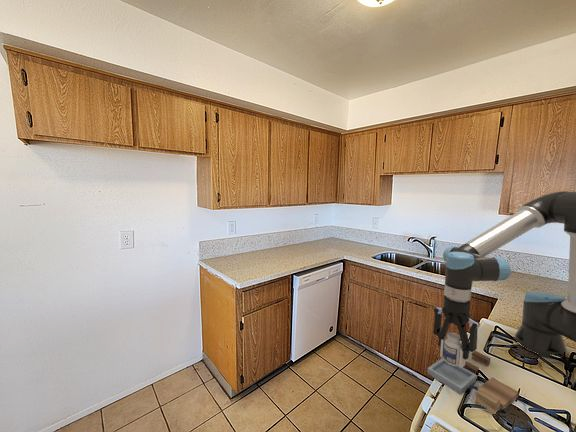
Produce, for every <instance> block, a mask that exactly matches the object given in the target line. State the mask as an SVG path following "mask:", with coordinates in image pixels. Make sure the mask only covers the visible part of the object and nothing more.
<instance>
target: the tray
mask: <svg viewBox="0 0 576 432" xmlns="http://www.w3.org/2000/svg"><path fill="white" fill-rule="evenodd" d="M427 374H428V375H429V376H431V377H433V378H434V379H436V380H438V381H439V382H441V383H442V384H444V385H445V386H446V387H448V388H450V389H452V390H453V391H455V392H457V393H458V394H459V395H462V394H463V393H464V392H466V391H467V390H468V389H469V388H470V387H471V386H472V385H473V384H474V383H476V382H477V381H476V379H477V380H478V375H476V374H474V373H472V372H470V371H469V370H467V369H465V368H463V367H462V368H460V367H459V366H452V365H450V364H448V363H447V362H445V361H444V358H442V357H441V358H440V359H439V360H437V361H436V362H434V363H433V364H431V365H429V366H428V367H427ZM475 381H476V382H475ZM470 385H471V386H470ZM469 386H470V387H469ZM468 387H469V388H468ZM467 388H468V389H467Z"/></svg>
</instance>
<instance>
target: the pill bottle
mask: <svg viewBox="0 0 576 432" xmlns="http://www.w3.org/2000/svg"><path fill="white" fill-rule="evenodd" d="M445 338H446V339H445V341H444V357H443V358H444V361H445V362H447V363H448V364H450V365H452V366H459V357H460V349H461V348H462V343H461V338H460V334H458V333H456V332H447V333H446V337H445Z"/></svg>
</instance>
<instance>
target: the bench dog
mask: <svg viewBox="0 0 576 432" xmlns="http://www.w3.org/2000/svg"><path fill="white" fill-rule="evenodd" d="M475 404H476V405H478V406H479V405H481V406H484V407H487V409H484V411H487V412H488V413H490V414H491V415H493V414H496V412H497V411H498V410H499V411H500V398H498V397H496V396H495V395H493V394H491V393H489V392H488V391H486V390H484V389H482V388H480V389H479V390H478V391H477V390H476V392H475ZM496 415H497V414H496Z"/></svg>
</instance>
